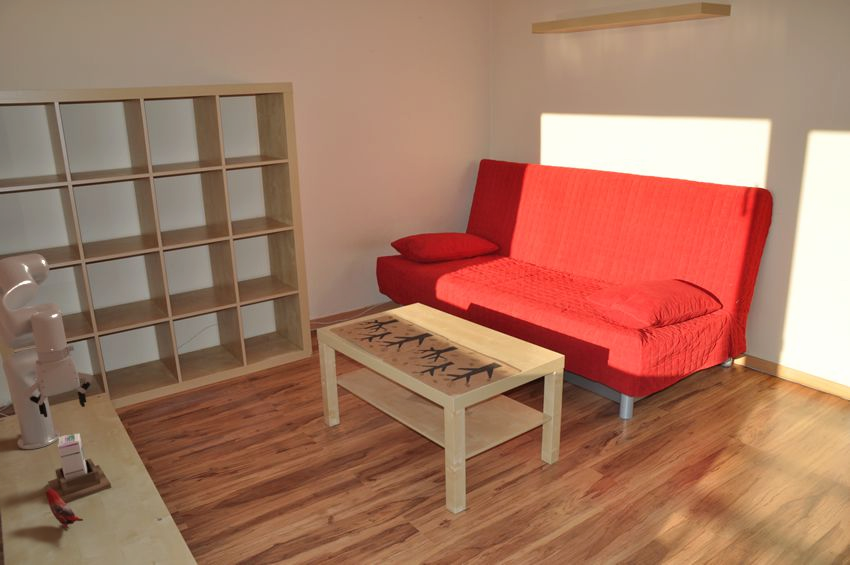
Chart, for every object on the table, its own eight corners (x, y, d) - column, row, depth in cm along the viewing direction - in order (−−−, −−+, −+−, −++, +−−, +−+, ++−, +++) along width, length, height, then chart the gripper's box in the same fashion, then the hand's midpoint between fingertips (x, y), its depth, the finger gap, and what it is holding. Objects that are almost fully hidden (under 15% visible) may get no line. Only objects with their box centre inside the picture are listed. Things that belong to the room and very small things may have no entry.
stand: (48, 485, 201) (45, 469, 199) (99, 468, 209) (96, 453, 207) (58, 506, 190) (54, 489, 189) (111, 487, 198) (108, 471, 197)
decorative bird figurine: (57, 516, 185) (50, 483, 183) (92, 538, 175) (86, 504, 173) (46, 521, 183) (39, 488, 180) (81, 544, 173) (74, 509, 171)
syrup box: (88, 484, 198) (80, 439, 194) (66, 490, 195) (56, 445, 191) (88, 475, 203) (80, 431, 199) (66, 480, 200) (57, 436, 196)
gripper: (83, 343, 196) (93, 397, 201) (15, 358, 186) (27, 415, 191) (90, 350, 191) (99, 405, 195) (20, 366, 180) (32, 424, 185)
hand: (64, 410), depth 193 cm, fingers open, 9 cm apart
